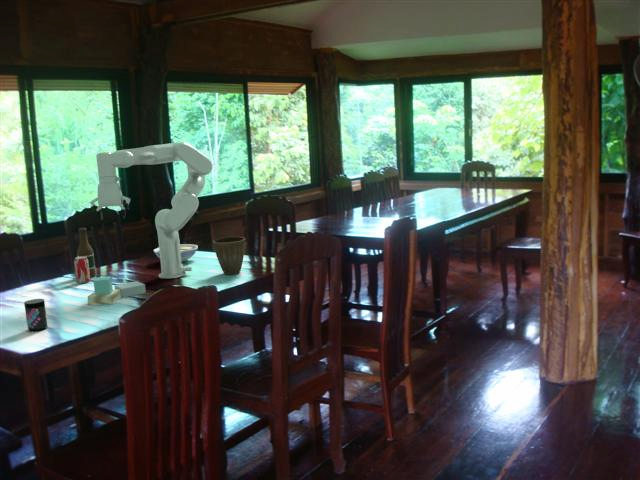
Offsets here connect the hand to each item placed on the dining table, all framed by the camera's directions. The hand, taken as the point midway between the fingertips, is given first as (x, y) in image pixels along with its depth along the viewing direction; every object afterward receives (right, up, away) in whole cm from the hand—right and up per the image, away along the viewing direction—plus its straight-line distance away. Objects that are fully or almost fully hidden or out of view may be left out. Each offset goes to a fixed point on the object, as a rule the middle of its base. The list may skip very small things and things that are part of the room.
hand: (112, 219), depth 303 cm
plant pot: (+51, -25, +17) cm, 59 cm away
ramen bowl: (+18, -21, +52) cm, 59 cm away
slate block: (+11, -32, -11) cm, 36 cm away
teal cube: (+4, -31, -23) cm, 39 cm away
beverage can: (-18, -29, +16) cm, 38 cm away
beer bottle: (-20, -27, +27) cm, 44 cm away
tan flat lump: (+4, -35, -22) cm, 42 cm away
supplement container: (-9, -42, -58) cm, 72 cm away
